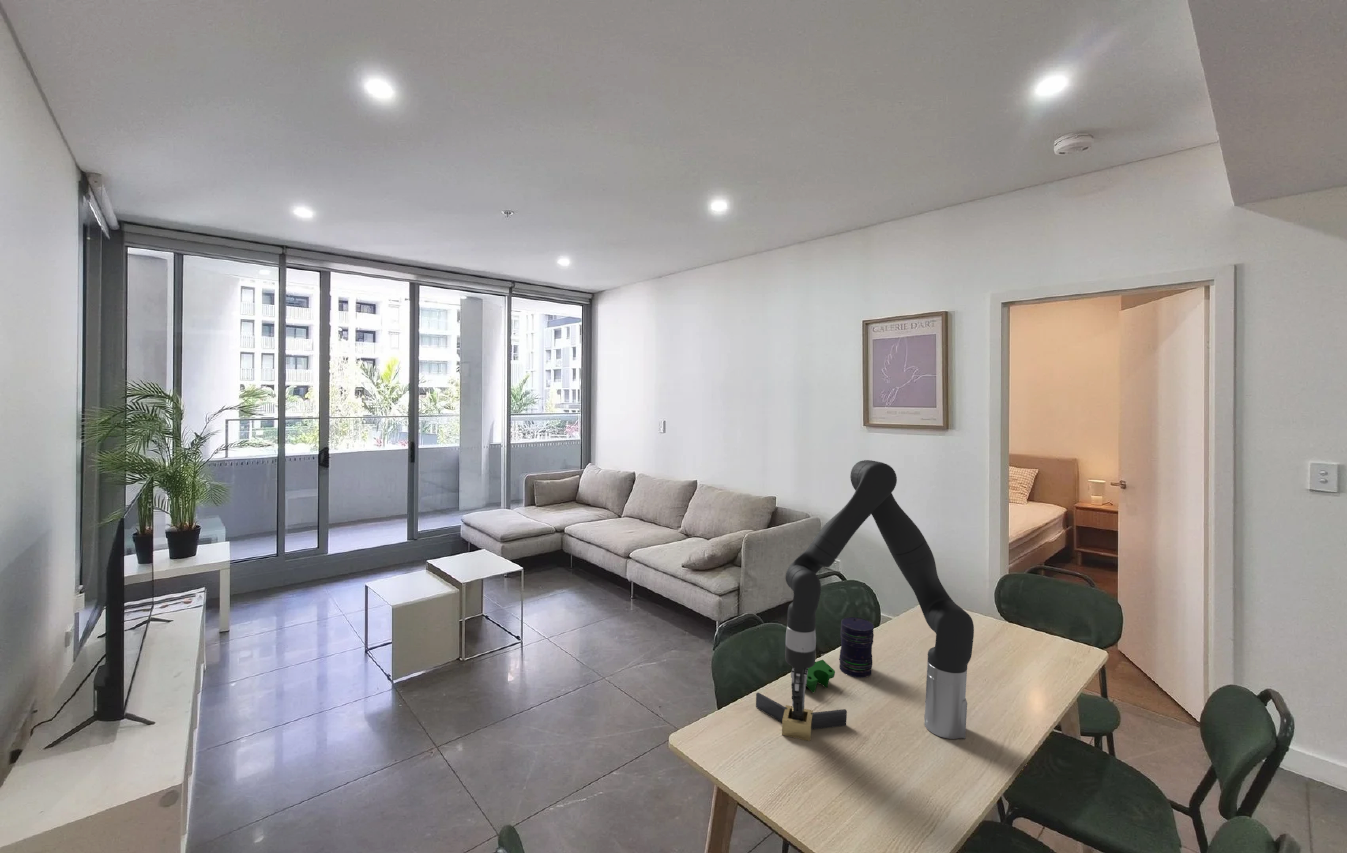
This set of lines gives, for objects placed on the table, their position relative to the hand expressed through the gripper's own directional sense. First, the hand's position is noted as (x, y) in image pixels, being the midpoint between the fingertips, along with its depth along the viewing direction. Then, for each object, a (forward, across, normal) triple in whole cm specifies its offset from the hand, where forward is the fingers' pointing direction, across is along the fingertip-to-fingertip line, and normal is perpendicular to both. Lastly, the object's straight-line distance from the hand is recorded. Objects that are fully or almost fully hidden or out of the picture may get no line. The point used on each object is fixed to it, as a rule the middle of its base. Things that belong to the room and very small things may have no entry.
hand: (798, 709), depth 141 cm
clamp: (+6, +23, -2) cm, 24 cm away
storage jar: (+6, +38, -14) cm, 41 cm away
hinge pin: (+4, 0, 0) cm, 4 cm away
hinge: (+6, +2, 0) cm, 6 cm away
